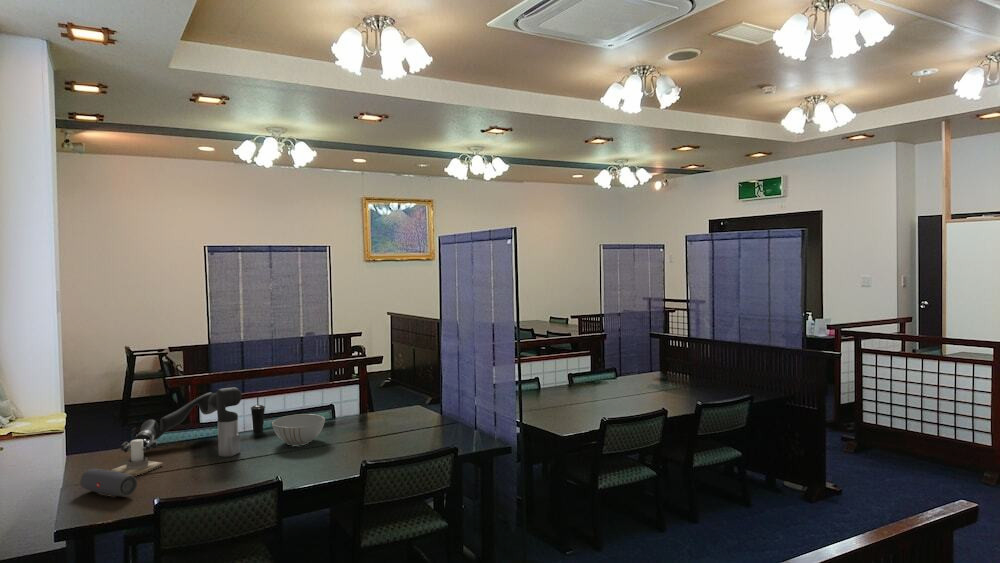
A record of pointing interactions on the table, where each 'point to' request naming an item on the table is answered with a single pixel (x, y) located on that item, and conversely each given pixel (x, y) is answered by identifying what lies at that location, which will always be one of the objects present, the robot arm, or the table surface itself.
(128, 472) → the duct base
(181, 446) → the table surface
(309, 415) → the decorative bowl
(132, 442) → the duct sleeve
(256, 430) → the drinking cup
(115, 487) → the bluetooth speaker
